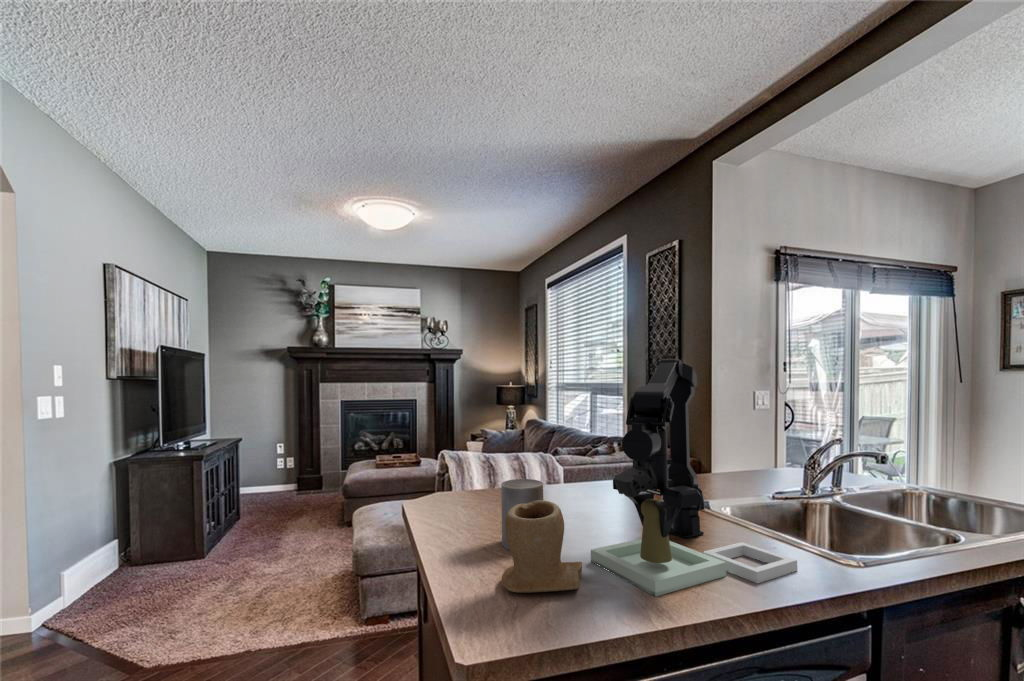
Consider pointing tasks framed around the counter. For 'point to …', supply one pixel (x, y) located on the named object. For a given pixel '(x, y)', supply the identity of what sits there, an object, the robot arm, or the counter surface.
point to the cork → (653, 535)
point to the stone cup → (538, 550)
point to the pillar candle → (518, 497)
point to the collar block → (773, 569)
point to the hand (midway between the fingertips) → (655, 533)
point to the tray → (659, 567)
